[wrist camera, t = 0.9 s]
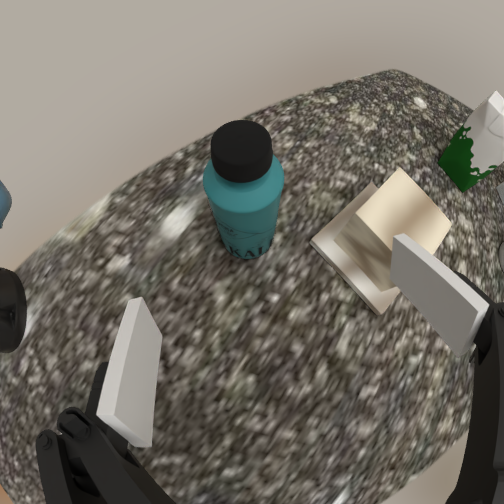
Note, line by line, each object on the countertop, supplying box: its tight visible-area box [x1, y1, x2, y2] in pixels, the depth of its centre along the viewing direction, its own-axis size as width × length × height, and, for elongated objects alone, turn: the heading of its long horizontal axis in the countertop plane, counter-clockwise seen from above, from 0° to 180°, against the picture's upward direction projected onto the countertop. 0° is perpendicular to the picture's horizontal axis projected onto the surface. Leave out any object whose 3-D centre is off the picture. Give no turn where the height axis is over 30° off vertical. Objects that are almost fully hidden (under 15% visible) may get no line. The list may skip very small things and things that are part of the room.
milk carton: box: [438, 91, 504, 193], centre depth 29 cm, size 9×9×20 cm
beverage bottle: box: [203, 120, 284, 260], centre depth 26 cm, size 6×7×20 cm
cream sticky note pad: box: [309, 167, 452, 315], centre depth 30 cm, size 13×13×10 cm
